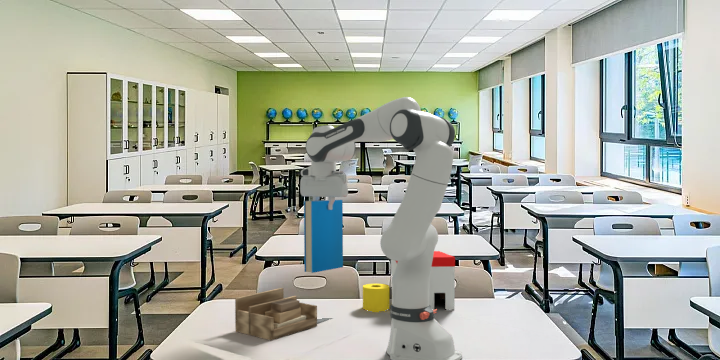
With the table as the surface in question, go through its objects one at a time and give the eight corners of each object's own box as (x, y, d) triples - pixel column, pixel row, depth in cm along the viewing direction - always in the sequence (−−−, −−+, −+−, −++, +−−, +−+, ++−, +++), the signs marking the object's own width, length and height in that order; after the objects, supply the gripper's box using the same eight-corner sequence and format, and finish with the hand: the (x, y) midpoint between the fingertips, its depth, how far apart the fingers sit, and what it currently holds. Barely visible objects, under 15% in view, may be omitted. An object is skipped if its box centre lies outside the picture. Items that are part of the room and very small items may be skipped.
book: (312, 273, 205) (312, 201, 204) (303, 272, 207) (303, 201, 207) (344, 267, 218) (344, 199, 218) (335, 266, 221) (335, 199, 220)
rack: (317, 326, 200) (316, 293, 200) (271, 340, 183) (271, 305, 183) (281, 318, 210) (281, 287, 210) (235, 331, 194) (235, 297, 194)
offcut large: (306, 324, 198) (306, 315, 198) (277, 334, 187) (277, 324, 187) (290, 321, 202) (290, 312, 202) (261, 330, 191) (261, 321, 191)
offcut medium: (300, 316, 197) (300, 307, 197) (279, 323, 188) (279, 314, 188) (286, 314, 200) (286, 305, 200) (265, 321, 191) (265, 312, 191)
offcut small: (299, 308, 196) (299, 300, 196) (281, 312, 190) (281, 304, 190) (289, 305, 199) (289, 298, 199) (271, 310, 193) (270, 302, 193)
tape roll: (357, 310, 223) (357, 285, 222) (379, 306, 228) (379, 282, 228) (372, 315, 214) (372, 289, 214) (394, 312, 220) (394, 286, 220)
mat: (352, 313, 218) (352, 312, 218) (315, 324, 202) (315, 323, 202) (331, 309, 224) (331, 308, 224) (294, 319, 208) (294, 318, 208)
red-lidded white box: (399, 314, 217) (399, 257, 217) (391, 294, 252) (390, 245, 252) (455, 313, 218) (455, 257, 218) (439, 293, 253) (439, 245, 253)
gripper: (351, 170, 208) (351, 210, 209) (309, 171, 221) (309, 208, 221) (340, 170, 203) (340, 211, 204) (297, 171, 216) (297, 208, 216)
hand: (323, 209), depth 212 cm, fingers closed on book, 4 cm apart
